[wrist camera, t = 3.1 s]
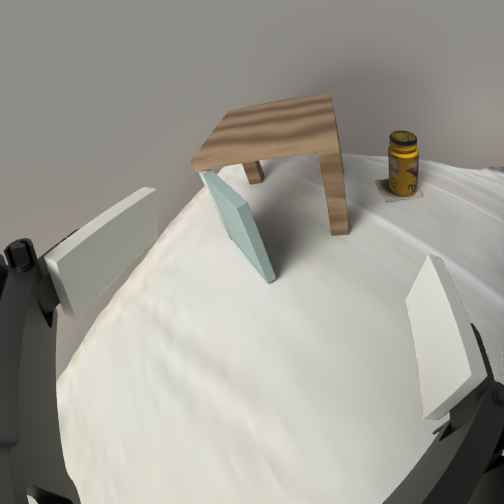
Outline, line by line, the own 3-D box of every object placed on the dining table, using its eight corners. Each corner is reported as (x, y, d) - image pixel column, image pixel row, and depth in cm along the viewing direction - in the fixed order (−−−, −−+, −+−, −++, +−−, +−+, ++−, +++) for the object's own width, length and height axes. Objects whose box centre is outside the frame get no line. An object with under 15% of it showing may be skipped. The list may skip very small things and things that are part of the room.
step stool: (252, 177, 68) (228, 111, 56) (342, 167, 61) (330, 93, 48) (229, 242, 54) (190, 161, 42) (348, 234, 46) (337, 137, 34)
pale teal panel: (237, 230, 55) (208, 165, 44) (277, 277, 44) (249, 201, 34) (228, 236, 54) (197, 171, 44) (266, 284, 44) (234, 209, 34)
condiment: (423, 196, 47) (427, 142, 39) (385, 202, 49) (384, 147, 41) (410, 176, 52) (410, 125, 44) (374, 182, 54) (371, 130, 46)
